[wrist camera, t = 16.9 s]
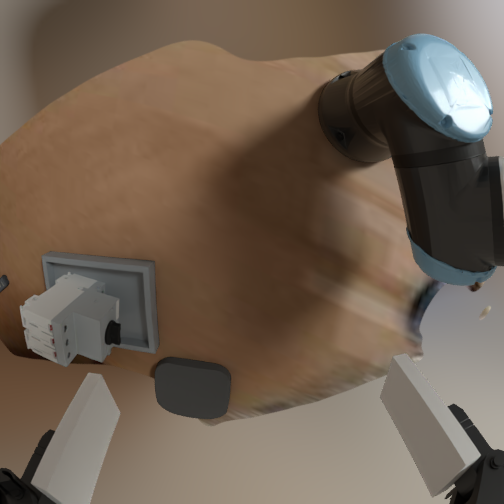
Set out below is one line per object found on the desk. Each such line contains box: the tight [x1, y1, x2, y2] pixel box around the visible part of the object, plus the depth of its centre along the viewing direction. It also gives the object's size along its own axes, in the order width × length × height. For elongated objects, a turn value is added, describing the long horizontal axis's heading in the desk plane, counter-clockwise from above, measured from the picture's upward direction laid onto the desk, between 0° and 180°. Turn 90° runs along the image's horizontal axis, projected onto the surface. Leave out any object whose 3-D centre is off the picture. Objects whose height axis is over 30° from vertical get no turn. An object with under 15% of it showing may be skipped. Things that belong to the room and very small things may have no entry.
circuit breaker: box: [20, 272, 121, 367], centre depth 36 cm, size 8×14×15 cm, turn 77°
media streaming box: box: [155, 357, 231, 419], centre depth 49 cm, size 15×15×3 cm
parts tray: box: [42, 251, 159, 354], centre depth 43 cm, size 22×16×3 cm
